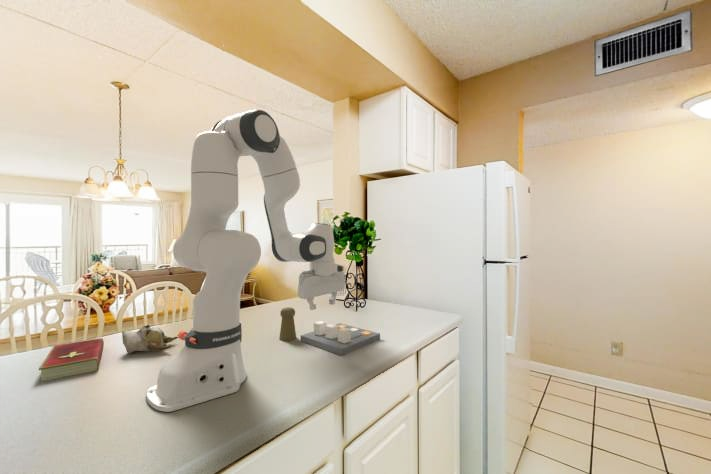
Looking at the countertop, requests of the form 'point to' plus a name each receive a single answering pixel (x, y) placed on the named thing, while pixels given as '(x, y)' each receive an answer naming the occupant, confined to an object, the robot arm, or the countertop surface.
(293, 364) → the countertop surface
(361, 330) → the switch panel
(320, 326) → the switch left
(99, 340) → the hardcover book
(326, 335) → the switch middle
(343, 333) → the cream slider knob
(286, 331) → the cork
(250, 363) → the countertop surface
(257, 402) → the countertop surface
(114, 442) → the countertop surface
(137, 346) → the ceramic sculpture
